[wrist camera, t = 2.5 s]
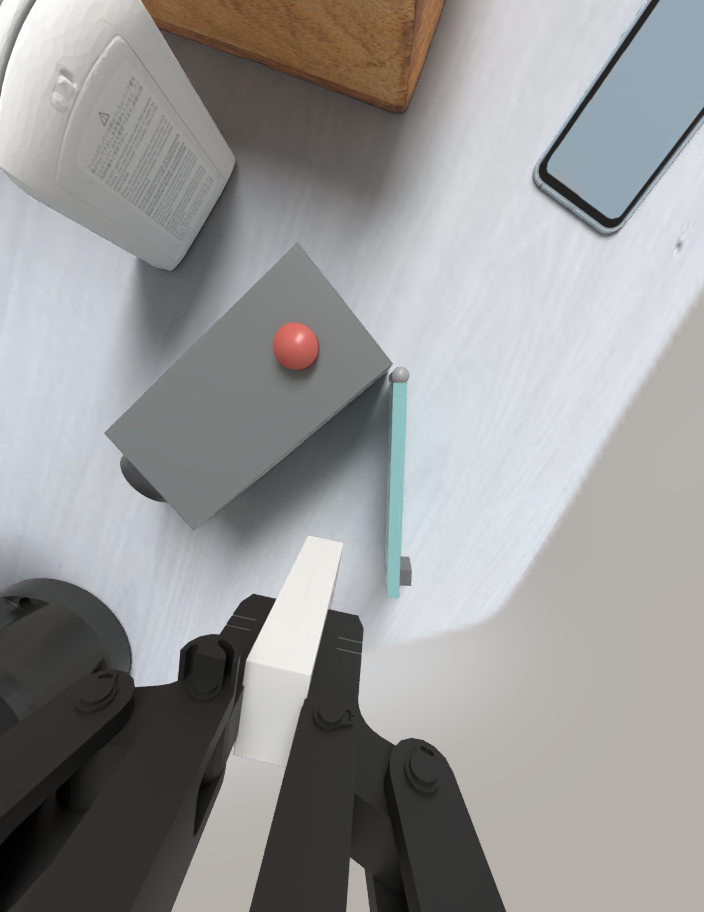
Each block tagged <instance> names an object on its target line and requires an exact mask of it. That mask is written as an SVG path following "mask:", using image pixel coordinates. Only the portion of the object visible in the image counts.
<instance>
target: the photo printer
mask: <svg viewBox="0 0 704 912" xmlns="http://www.w3.org/2000/svg"><path fill="white" fill-rule="evenodd" d="M234 164H235V157H234V155H233V153H232V151H231V149H230V148H229V146H228V144H227V143H226V141H225V139H224V138H223V136H222V134H221V133H220V131H219V130H218V128H217V126H216V125H215V123H214V121H213V119H212V118H211V116H210V114H209V113H208V111H207V109H206V108H205V106H204V104H203V103H202V101H201V99H200V98H199V96H198V94H197V93H196V91H195V90H194V88H193V86H192V85H191V83H190V81H189V79H188V78H187V76H186V74H185V73H184V71H183V69H182V68H181V66H180V64H179V63H178V61H177V59H176V58H175V56H174V54H173V52H172V51H171V49H170V48H169V46H168V44H167V43H166V41H165V39H164V37H163V36H162V34H161V33H160V31H159V29H158V27H157V26H156V24H155V22H154V21H153V19H152V17H151V16H150V14H149V13H148V11H147V10H146V8H145V6H144V5H143V3H142V1H141V0H3V2H2V4H1V7H0V168H1V169H2V170H3V171H4V173H5V174H6V175H7V176H8V177H9V178H10V179H11V180H12V181H13V182H14V183H15V184H16V185H17V186H18V187H19V188H21V189H22V190H23V191H24V192H26V193H27V194H28V195H30V196H31V197H33V198H34V199H36V200H38V201H39V202H41V203H43V204H45V205H46V206H48V207H50V208H52V209H54V210H55V211H57V212H59V213H61V214H62V215H64V216H66V217H68V218H69V219H71V220H73V221H75V222H76V223H78V224H80V225H82V226H84V227H85V228H87V229H89V230H91V231H92V232H94V233H96V234H98V235H99V236H101V237H103V238H105V239H106V240H108V241H110V242H112V243H113V244H115V245H117V246H119V247H120V248H122V249H124V250H126V251H127V252H129V253H131V254H133V255H135V256H136V257H138V258H140V259H142V260H143V261H145V262H147V263H149V264H150V265H152V266H154V267H156V268H159V269H167V270H169V271H171V270H173V269H174V268H175V267H176V266H177V265H178V264H179V263H180V261H181V260H182V259H183V257H184V256H185V254H186V253H187V251H188V249H189V247H190V246H191V244H192V243H193V241H194V239H195V237H196V236H197V234H198V233H199V231H200V229H201V227H202V226H203V224H204V222H205V221H206V219H207V217H208V215H209V214H210V212H211V210H212V208H213V207H214V205H215V203H216V201H217V200H218V198H219V196H220V195H221V193H222V191H223V189H224V187H225V185H226V183H227V181H228V179H229V177H230V175H231V173H232V170H233V168H234Z"/></svg>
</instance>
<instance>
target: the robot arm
mask: <svg viewBox="0 0 704 912" xmlns="http://www.w3.org/2000/svg"><path fill="white" fill-rule="evenodd" d="M342 549H343V543H342V542H337V541H333V540H328V539H323V538H318V537H314V536H309V535H308V537H307V539H306V541H305V543H304V545H303V547H302V549H301V551H300V553H299V555H298V557H297V559H296V561H295V563H294V565H293V567H292V569H291V571H290V573H289V575H288V577H287V579H286V581H285V583H284V585H283V587H282V589H281V591H280V593H279V595H278V597H277V599H274V598H270V597H265V596H261V595H256V594H252V595H251V596H249V597H248V598H246V599H245V600H243V601H242V602H241V603H240V604H239V606H238V607H237V609H236V610H235V612H234V613H233V616H231V618H230V619H229V621H228V622H227V625H226V626H225V627H224V629H223V630H222V632H221V633H220V635H217V634H210V635H205V636H200V637H198V638H196V639H194V640H192V641H190V642H188V643H187V644H186V645H185V646H184V647H183V648H182V649H181V650H180V661H179V673H178V681H176V682H173V683H170V684H165V685H159V686H146V687H135V686H134V680H133V678H132V677H131V676H130V675H129V670H130V660H131V659H130V649H129V645H128V641H127V638H126V635H125V633H124V631H123V629H122V627H121V625H120V624H119V622H118V620H117V619H116V618H115V616H114V615H113V614H112V613H111V611H110V610H109V609H108V608H107V607H106V606H105V605H104V604H103V603H102V602H101V601H99V600H98V599H97V598H96V597H94V596H93V595H91V594H90V593H88V592H87V591H85V590H83V589H81V588H79V587H77V586H75V585H73V584H70V583H67V582H64V581H60V580H55V579H46V578H37V579H29V580H25V581H21V582H18V583H16V584H14V585H12V586H10V587H8V588H6V589H5V590H3V591H1V592H0V912H171V910H172V908H173V905H174V903H175V900H176V898H177V895H178V893H179V890H180V888H181V885H182V883H183V880H184V878H185V875H186V873H187V870H188V867H189V865H190V863H191V860H192V858H193V855H194V853H195V850H196V848H197V845H198V843H199V840H200V838H201V835H202V833H203V830H204V827H205V825H206V822H207V820H208V818H209V815H210V813H211V810H212V808H213V805H214V803H215V800H216V798H217V795H218V793H219V790H220V788H221V785H222V783H223V779H224V774H225V769H226V762H227V759H228V757H229V754H230V752H231V749H232V747H233V745H234V742H235V745H234V753H233V755H237V756H241V757H245V758H249V759H253V760H257V761H261V762H265V763H269V764H274V765H278V766H282V767H286V770H285V774H284V778H283V781H282V785H281V789H280V793H279V797H278V801H277V805H276V809H275V813H274V817H273V821H272V825H271V829H270V833H269V836H268V840H267V844H266V848H265V852H264V856H263V860H262V864H261V868H260V872H259V876H258V880H257V883H256V888H255V891H254V895H253V899H252V903H251V907H250V911H249V912H346V905H347V891H348V875H349V862H350V857H351V858H352V859H353V860H354V861H356V862H357V863H358V864H360V865H361V866H362V867H363V868H365V875H366V883H367V891H368V899H369V906H370V912H506V910H505V908H504V905H503V902H502V900H501V897H500V894H499V892H498V889H497V887H496V884H495V881H494V878H493V876H492V873H491V871H490V868H489V865H488V863H487V860H486V858H485V855H484V852H483V850H482V847H481V844H480V842H479V839H478V836H477V834H476V831H475V829H474V826H473V823H472V821H471V818H470V815H469V813H468V810H467V808H466V805H465V802H464V800H463V797H462V794H461V792H460V789H459V787H458V784H457V781H456V779H455V776H454V773H453V771H452V769H451V768H450V766H449V764H448V762H447V760H446V758H445V757H444V756H443V755H442V754H441V753H440V752H439V751H438V750H437V749H436V748H435V747H434V746H432V745H431V744H429V743H427V742H425V741H424V740H420V739H414V738H409V739H405V740H401V741H400V742H399V743H398V744H397V745H396V746H395V745H394V744H392V743H390V742H389V741H387V740H385V739H384V738H382V737H381V736H379V735H378V734H377V733H375V732H374V731H373V730H372V729H371V728H370V727H369V726H368V725H367V724H366V722H365V720H364V719H363V717H362V715H361V713H360V709H359V704H358V694H359V681H360V680H359V679H360V667H361V653H362V641H363V626H362V624H361V621H360V619H359V617H358V616H357V615H352V614H348V613H343V612H339V611H334V610H330V609H331V605H332V601H333V595H334V590H335V585H336V580H337V575H338V569H339V564H340V559H341V554H342Z"/></svg>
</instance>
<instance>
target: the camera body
mask: <svg viewBox="0 0 704 912" xmlns="http://www.w3.org/2000/svg"><path fill="white" fill-rule="evenodd" d="M392 364H393V363H392V362H391V361H390V359H389V358H388V357H387V356H386V354H385V353H384V352H383V350H382V349H381V348H380V347H379V345H378V344H377V343H376V341H375V340H374V339H373V338H372V336H371V335H370V334H369V333H368V331H367V330H366V329H365V327H364V326H363V325H362V324H361V322H360V321H359V320H358V319H357V317H356V316H355V315H354V313H353V312H352V311H351V310H350V308H349V307H348V306H347V305H346V303H345V302H344V301H343V299H342V298H341V297H340V296H339V294H338V293H337V292H336V291H335V289H334V288H333V287H332V285H331V284H330V283H329V282H328V280H327V279H326V278H325V276H324V275H323V274H322V273H321V271H320V270H319V269H318V268H317V266H316V265H315V264H314V262H313V261H312V260H311V259H310V257H309V256H308V255H307V254H306V252H305V251H304V250H303V248H302V247H301V246H300V245H299V243H297V244H295V245H294V246H293V247H292V248H291V249H290V250H289V251H288V252H287V253H286V254H285V255H284V256H283V257H282V258H281V259H280V260H279V261H278V262H277V263H276V264H275V265H274V266H273V267H272V268H271V269H270V270H269V271H268V272H267V273H266V274H265V275H264V276H263V277H262V278H261V279H260V280H259V281H258V282H257V283H256V284H255V285H254V286H253V287H252V288H251V289H250V290H249V291H248V292H247V293H246V294H245V295H244V296H243V297H242V298H241V299H240V300H239V301H238V302H237V303H236V304H235V305H234V306H233V307H232V308H231V309H230V310H229V311H228V312H227V313H226V314H225V315H224V316H223V317H222V318H220V319H219V320H218V321H217V322H216V323H215V324H214V325H213V326H212V327H211V328H210V329H209V330H208V331H207V332H206V333H205V334H204V335H203V336H202V337H201V338H200V339H199V340H198V341H197V342H196V343H195V344H194V345H193V346H192V347H191V348H190V349H189V350H188V351H187V352H186V353H185V354H184V355H183V356H182V357H181V358H180V359H179V360H178V361H177V362H176V363H175V364H174V365H173V366H172V367H171V368H170V369H169V370H168V371H167V372H166V373H165V374H164V375H163V376H162V377H161V378H160V379H159V380H158V381H157V382H156V383H155V384H154V385H153V386H152V387H151V388H150V389H149V390H148V391H147V392H145V393H144V394H143V395H142V396H141V397H140V398H139V399H138V400H137V401H136V402H135V403H134V404H133V405H132V406H131V407H130V408H129V409H128V410H127V411H126V412H125V413H124V414H123V415H122V416H121V417H120V418H119V419H118V420H117V421H116V422H115V423H114V424H113V425H112V426H111V427H110V428H109V429H108V430H107V431H106V432H105V433H104V434H105V435H106V436H107V437H108V438H109V439H110V440H111V441H112V442H113V443H114V444H115V445H116V447H117V448H118V449H119V450H120V451H121V452H122V453H123V454H124V455H123V456H122V458H121V462H120V466H121V470H122V473H123V475H124V477H125V478H126V480H127V481H128V482H129V484H130V485H131V486H132V487H133V488H134V489H135V490H137V491H138V492H139V493H141V494H142V495H144V496H146V497H148V498H150V499H152V500H155V501H159V502H167V503H169V504H170V505H171V506H172V507H173V508H174V509H175V510H176V512H177V513H178V514H179V515H180V516H181V517H182V518H183V519H184V520H185V521H186V522H187V523H188V525H189V526H190V527H191V528H192V529H193V530H195V529H196V528H198V527H199V526H200V525H201V524H203V523H204V522H205V521H207V520H208V519H209V518H210V517H212V516H213V515H214V514H216V513H217V512H218V511H220V510H221V509H222V508H223V507H225V506H226V505H227V504H229V503H230V502H231V501H232V500H234V499H235V498H236V497H238V496H239V495H240V494H242V493H243V492H244V491H245V490H246V489H248V488H249V487H250V486H251V485H252V484H254V483H255V482H256V481H257V480H258V479H260V478H261V477H262V476H263V475H264V474H266V473H267V472H268V471H269V470H270V469H272V468H273V467H274V466H275V465H276V464H277V463H279V462H280V461H281V460H282V459H283V458H285V457H286V456H287V455H288V454H289V453H291V452H292V451H293V450H294V449H295V448H297V447H298V446H299V445H300V444H301V443H303V442H304V441H305V440H306V439H307V438H309V437H310V436H311V435H312V434H313V433H315V432H316V431H317V430H318V429H319V428H320V427H322V426H323V425H324V424H325V423H326V422H328V421H329V420H330V419H331V418H332V417H334V416H335V415H336V414H337V413H338V412H340V411H341V410H342V409H343V408H344V407H346V406H347V405H348V404H349V403H350V402H352V401H353V400H354V399H355V398H356V397H358V396H359V395H360V394H361V393H362V392H364V391H365V390H366V389H367V388H368V387H369V386H371V385H372V384H373V383H374V382H375V381H377V380H378V379H379V378H380V377H381V376H383V375H384V374H385V373H386V372H387V371H388V370H389V369H390V367H391V365H392Z"/></svg>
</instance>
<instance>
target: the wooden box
mask: <svg viewBox="0 0 704 912" xmlns="http://www.w3.org/2000/svg"><path fill="white" fill-rule="evenodd" d="M141 1H142V3H143V5H144V6H145V8H146V10H147V11H148V13H149V14H150V16H151V17H152V19H153V21H154V22H155V24H156V26H157V27H158V28H159V29H162V30H165V31H168V32H170V33H173V34H176V35H178V36H181V37H184V38H187V39H190V40H193V41H195V42H198V43H202V44H205V45H207V46H210V47H213V48H216V49H219V50H221V51H224V52H227V53H230V54H233V55H236V56H239V57H242V58H248V59H252V60H254V61H256V62H259V63H261V64H264V65H266V66H268V67H270V68H272V69H275V70H278V71H281V72H283V73H286V74H289V75H292V76H294V77H297V78H300V79H303V80H305V81H308V82H311V83H314V84H316V85H319V86H322V87H324V88H327V89H330V90H333V91H336V92H338V93H341V94H344V95H347V96H349V97H352V98H355V99H357V100H360V101H363V102H365V103H368V104H370V105H373V106H376V107H379V108H381V109H384V110H388V111H391V112H396V113H398V112H404V111H405V110H406V109H407V107H408V105H409V102H410V100H411V98H412V95H413V93H414V90H415V87H416V85H417V82H418V80H419V76H420V73H421V71H422V68H423V65H424V62H425V59H426V56H427V53H428V50H429V47H430V44H431V41H432V38H433V36H434V33H435V32H436V28H437V24H438V21H439V18H440V15H441V12H442V9H443V6H444V2H445V0H141Z"/></svg>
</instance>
